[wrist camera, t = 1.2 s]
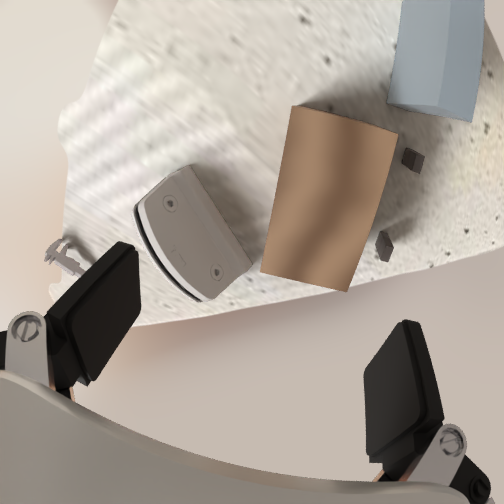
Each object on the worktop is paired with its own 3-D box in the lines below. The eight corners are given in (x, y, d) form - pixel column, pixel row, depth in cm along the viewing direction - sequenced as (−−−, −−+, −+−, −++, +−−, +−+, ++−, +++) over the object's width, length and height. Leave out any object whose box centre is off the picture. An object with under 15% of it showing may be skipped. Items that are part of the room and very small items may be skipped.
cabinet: (273, 230, 38) (259, 272, 29) (297, 105, 30) (292, 105, 21) (378, 255, 36) (393, 302, 28) (416, 139, 28) (451, 155, 20)
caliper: (60, 240, 48) (39, 256, 42) (61, 237, 47) (39, 253, 42) (137, 308, 51) (121, 330, 46) (139, 305, 51) (123, 327, 45)
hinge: (254, 266, 41) (214, 317, 34) (230, 271, 44) (192, 317, 38) (187, 162, 36) (130, 198, 29) (168, 175, 39) (114, 211, 32)
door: (386, 103, 27) (437, 106, 15) (401, 2, 20) (449, -46, 7) (418, 114, 27) (483, 129, 14) (433, 15, 20) (494, -20, 7)
